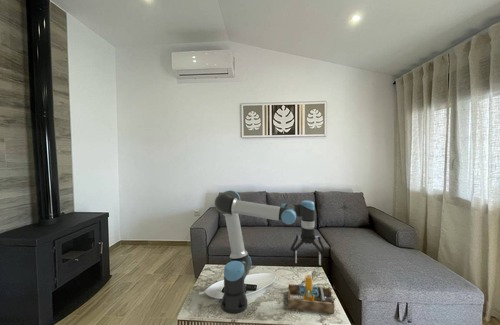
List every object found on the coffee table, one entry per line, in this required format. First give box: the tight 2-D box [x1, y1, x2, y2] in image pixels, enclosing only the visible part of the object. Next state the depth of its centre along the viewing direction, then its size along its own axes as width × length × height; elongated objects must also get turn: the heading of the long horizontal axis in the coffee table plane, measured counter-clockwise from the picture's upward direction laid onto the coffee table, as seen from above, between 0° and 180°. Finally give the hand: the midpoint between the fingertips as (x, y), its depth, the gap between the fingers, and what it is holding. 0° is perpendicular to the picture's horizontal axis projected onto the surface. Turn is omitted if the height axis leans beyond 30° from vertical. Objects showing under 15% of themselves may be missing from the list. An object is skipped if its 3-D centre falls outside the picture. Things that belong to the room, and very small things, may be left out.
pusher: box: [319, 286, 336, 302], centre depth 134 cm, size 8×13×6 cm, turn 169°
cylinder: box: [299, 274, 320, 301], centre depth 136 cm, size 12×10×15 cm
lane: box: [287, 283, 335, 314], centre depth 136 cm, size 25×16×6 cm, turn 79°
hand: (307, 263), depth 136 cm, fingers open, 13 cm apart
